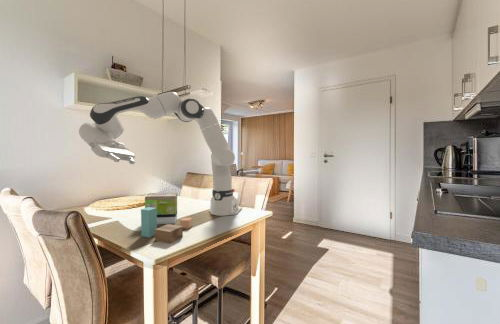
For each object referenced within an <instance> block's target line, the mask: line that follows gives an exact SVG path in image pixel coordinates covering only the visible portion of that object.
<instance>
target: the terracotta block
mask: <svg viewBox="0 0 500 324" xmlns="http://www.w3.org/2000/svg"><path fill="white" fill-rule="evenodd" d="M179 226H183V229H190V228H191V227H192V226H193V217H182V218H181V219H180V220H179Z"/></svg>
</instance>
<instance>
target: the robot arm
mask: <svg viewBox="0 0 500 324" xmlns="http://www.w3.org/2000/svg"><path fill="white" fill-rule="evenodd" d="M134 110H137V111H140V112H141V113H143V114H144V115H145V116H146V117H148V118H150V119H154V120H156V119H161V118H163V117H166V116H168V115H169V114H172V113H173V114H174V115H175V116H176V117H177V119H179V120H180V121H182V122H183V123H189V122H190V123H191V122H192V121H195V122H196V123H197V124H198V126H199V129H200V130H201V133H202V136H203V138H204V141H205V143H206V145H207V146H208V148H209V150H210V153H211V154H210V158H211V159H210V161H211V171H212V188H213V189H212V191H211V192H212V197H211V198H210V206H209V209H208V213H210V214H211V215H214V216H218V217H219V216H220V217H222V216H231V215H232V216H235V215H237V214H239V212H241V210H242V208H243V207H241V206H239V201H238V199H237V198H236V197H235V196H234V193H235V191H236V190H235V188H232V187H233V185H232V183H233V182H232V180H233V179H232V176H233V175H232V173H231V166H232V165H233V164H234V162H235V159H236V157H235V154H234V151H233V150H232V149H231V146H230V144H229V143H228V141H227V139H226V137H225V135H224V133H223V130H222V128H221V125H220V123H219V120H218V119H217V117H216V115H215V113H214V111H213V109H212V108H210V107H204V106H203V105H202V104H201V103H200V101H198V100H197V99H195V98H186V99H184V100H183V99H181V98H180V95H178V94H177V92H174V91H168V92H163V93H160V94H157V95H155V96H149V97H146V96H144V95H137V96H132V97H128V98H123V99H119V100H116V101H115V100H114V101H111V102H102V103H97V104H95V105H93V106H92V108H91V109H90V112H89V116H90V119H92V121H93V122H84V123H83V124H81V126H80V127H79V128H78V129H79V130H78V134H79V137H80V138H81V139H82V140H83V142H85V143H86V144H87V145H88V146H89V147H90V150H91V151H92V152H93V153H94V154H95V155H96V156H97V157H100V158H105V159H106V158H107V159H109V160H111V161H113V162H115V163H119V162H120V161H126V162H128V163H129V164H130V165H135V163H136V161H135V160H134V159H135V157H136V155H135V153H134V152H133V151H131V150H130V149H129V148H127V147H126V145H125V144H124V143H123V142H121V141H118V140H116V139H117V138H119V137H121V135H122V134H123V132H124V129H125V128H124V126H123V124H122V122H121V121H120V119H119V117H118V114H122V113H127V112H130V111H134Z"/></svg>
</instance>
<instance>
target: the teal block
mask: <svg viewBox="0 0 500 324" xmlns="http://www.w3.org/2000/svg"><path fill="white" fill-rule="evenodd" d="M140 217H141V218H140V222H141V223H140V225H141V226H140V229H141V237H143V238H144V237H145V238H152V237H155V229H157V228H158V224H157V209H156V208H152V207H147V208H145V207H144V208H141V209H140Z"/></svg>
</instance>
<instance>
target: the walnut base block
mask: <svg viewBox="0 0 500 324" xmlns="http://www.w3.org/2000/svg"><path fill="white" fill-rule="evenodd" d="M183 229H184V228H183V226H180V225H177V224H163V225H162V226H160V227H157V229H155V235H154V241H156V242H161V243H166V244H172V243H173V242H174V243H175V242H176V241H178V240H180V239H182V238H183V235H184V234H183V233H184V232H183V231H184V230H183Z"/></svg>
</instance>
